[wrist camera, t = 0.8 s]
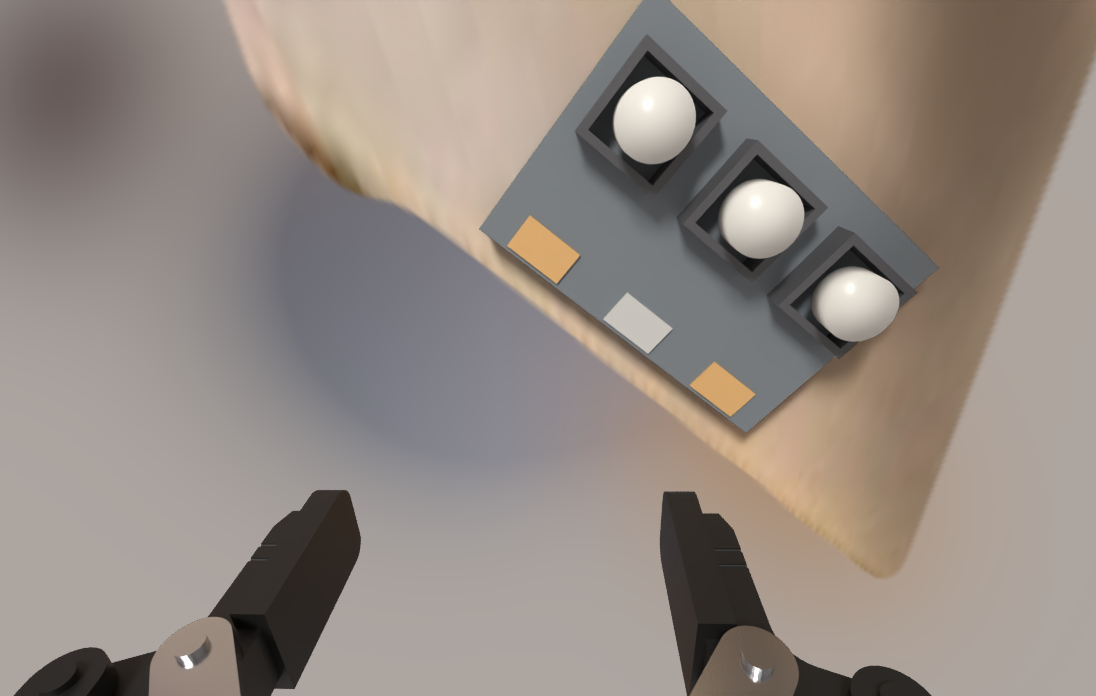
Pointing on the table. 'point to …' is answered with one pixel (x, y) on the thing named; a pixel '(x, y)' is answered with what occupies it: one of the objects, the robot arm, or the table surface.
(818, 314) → the button
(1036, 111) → the table surface
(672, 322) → the switch panel
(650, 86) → the button
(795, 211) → the button
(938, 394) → the table surface
